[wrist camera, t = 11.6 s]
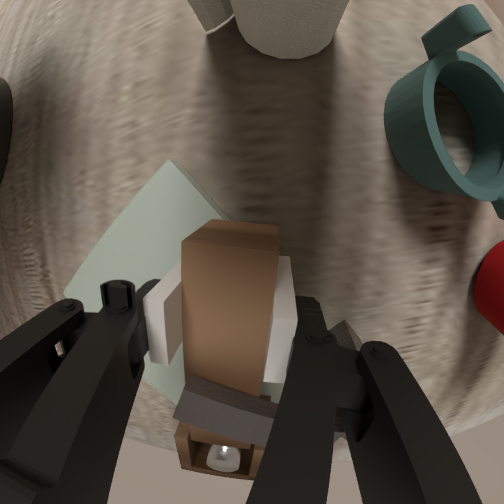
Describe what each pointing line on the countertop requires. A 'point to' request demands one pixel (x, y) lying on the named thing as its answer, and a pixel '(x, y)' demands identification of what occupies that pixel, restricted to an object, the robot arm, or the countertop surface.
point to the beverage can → (491, 287)
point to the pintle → (224, 458)
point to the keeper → (243, 404)
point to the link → (226, 325)
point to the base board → (152, 256)
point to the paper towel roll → (277, 23)
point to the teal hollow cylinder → (472, 97)
